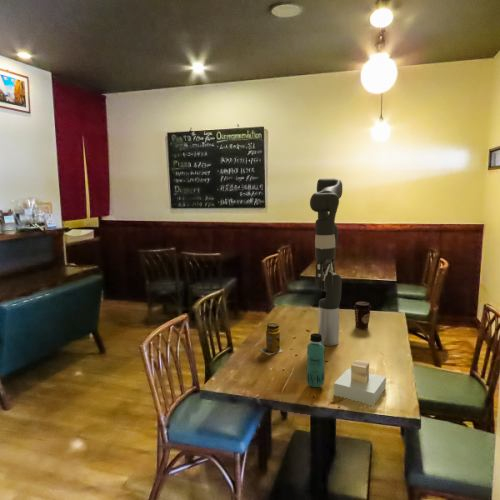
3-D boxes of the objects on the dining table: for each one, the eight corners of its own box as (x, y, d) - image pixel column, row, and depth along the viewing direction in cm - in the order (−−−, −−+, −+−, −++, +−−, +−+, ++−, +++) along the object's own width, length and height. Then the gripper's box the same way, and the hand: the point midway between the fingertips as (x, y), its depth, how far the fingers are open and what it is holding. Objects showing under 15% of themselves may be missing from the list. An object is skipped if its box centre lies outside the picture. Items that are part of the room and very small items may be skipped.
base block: (348, 380, 159) (348, 368, 158) (385, 389, 152) (385, 376, 151) (333, 396, 148) (334, 383, 147) (373, 407, 140) (374, 393, 139)
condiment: (283, 351, 187) (283, 325, 185) (268, 355, 182) (268, 329, 181) (274, 346, 193) (273, 321, 191) (258, 350, 188) (258, 324, 187)
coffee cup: (372, 326, 216) (373, 302, 214) (368, 331, 209) (368, 306, 207) (356, 324, 220) (356, 300, 218) (351, 328, 214) (351, 304, 212)
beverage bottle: (304, 383, 157) (304, 331, 154) (322, 382, 157) (322, 330, 154) (308, 391, 150) (308, 338, 147) (326, 390, 151) (327, 337, 148)
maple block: (354, 375, 152) (355, 359, 151) (368, 378, 150) (369, 362, 149) (351, 381, 148) (351, 365, 147) (365, 384, 146) (365, 367, 145)
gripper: (322, 242, 167) (323, 282, 170) (308, 248, 156) (309, 291, 158) (341, 243, 164) (341, 283, 167) (327, 249, 152) (328, 293, 155)
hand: (325, 287), depth 162 cm, fingers open, 8 cm apart
